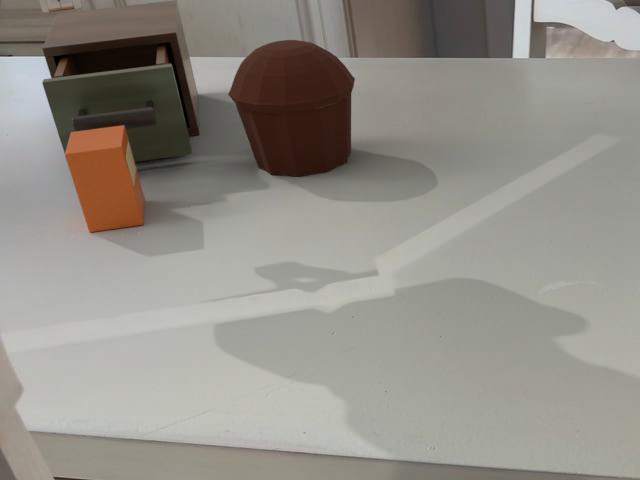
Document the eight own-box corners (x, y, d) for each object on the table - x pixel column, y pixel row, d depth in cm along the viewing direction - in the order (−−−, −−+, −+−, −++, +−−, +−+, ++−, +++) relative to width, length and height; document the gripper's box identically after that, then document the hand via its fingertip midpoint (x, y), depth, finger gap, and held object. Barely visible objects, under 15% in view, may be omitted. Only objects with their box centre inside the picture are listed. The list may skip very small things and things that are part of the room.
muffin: (389, 151, 97) (376, 36, 90) (308, 189, 90) (288, 68, 84) (300, 133, 103) (282, 24, 96) (218, 168, 96) (193, 53, 90)
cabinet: (199, 134, 104) (176, 32, 98) (74, 151, 103) (41, 48, 96) (197, 93, 116) (176, -1, 110) (85, 107, 114) (57, 13, 108)
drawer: (192, 169, 93) (171, 79, 88) (65, 187, 92) (36, 96, 87) (191, 111, 108) (172, 30, 103) (81, 125, 106) (56, 44, 101)
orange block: (88, 232, 86) (63, 154, 81) (93, 207, 90) (69, 131, 86) (144, 225, 86) (122, 146, 82) (145, 200, 91) (125, 124, 86)
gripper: (147, -227, 75) (193, -15, 83) (-151, -201, 71) (-70, 18, 80) (152, -225, 70) (200, -1, 79) (-167, -197, 66) (-79, 35, 75)
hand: (62, 9), depth 79 cm, fingers closed
